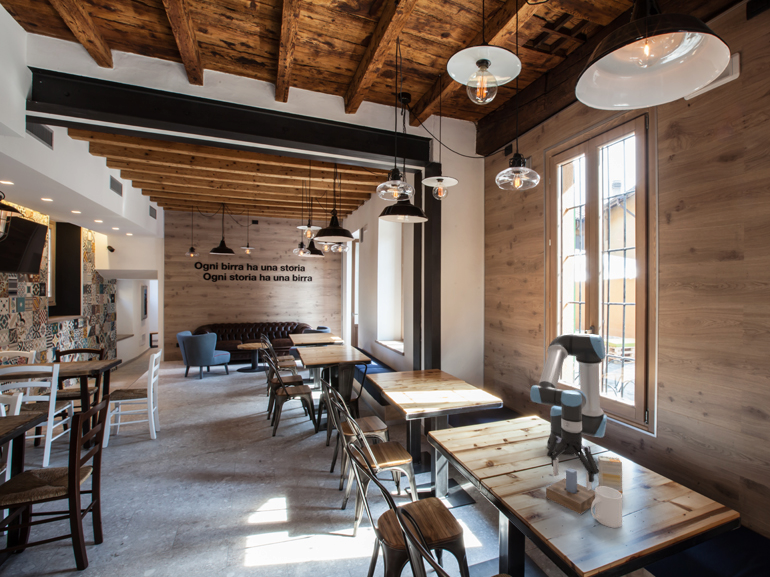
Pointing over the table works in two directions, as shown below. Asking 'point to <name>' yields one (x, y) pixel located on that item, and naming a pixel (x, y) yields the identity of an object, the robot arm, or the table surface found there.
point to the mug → (607, 506)
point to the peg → (571, 481)
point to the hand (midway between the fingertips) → (571, 481)
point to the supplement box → (610, 472)
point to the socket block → (571, 496)
